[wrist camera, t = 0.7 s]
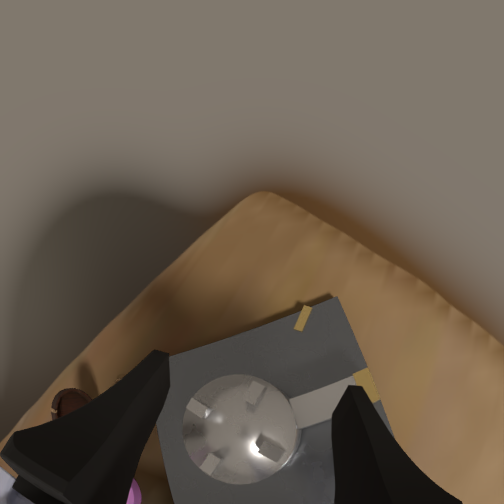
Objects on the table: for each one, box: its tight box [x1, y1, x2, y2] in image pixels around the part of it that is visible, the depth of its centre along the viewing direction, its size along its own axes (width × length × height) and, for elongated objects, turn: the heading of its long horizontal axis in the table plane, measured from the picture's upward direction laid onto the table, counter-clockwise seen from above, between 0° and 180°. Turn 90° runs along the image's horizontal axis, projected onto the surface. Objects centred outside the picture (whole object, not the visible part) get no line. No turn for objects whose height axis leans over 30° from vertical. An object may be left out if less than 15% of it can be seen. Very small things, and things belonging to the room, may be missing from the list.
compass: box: [51, 378, 122, 420], centre depth 24 cm, size 8×8×7 cm
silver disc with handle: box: [182, 367, 380, 484], centre depth 20 cm, size 15×9×4 cm, turn 105°
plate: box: [156, 296, 395, 504], centre depth 21 cm, size 22×20×1 cm
